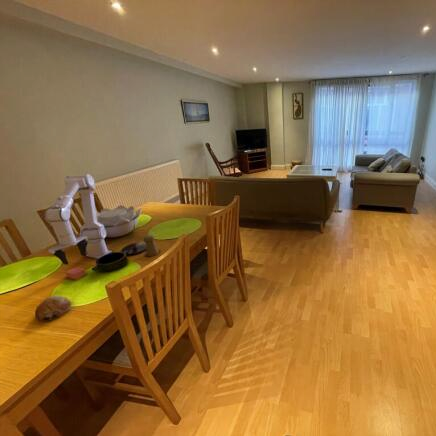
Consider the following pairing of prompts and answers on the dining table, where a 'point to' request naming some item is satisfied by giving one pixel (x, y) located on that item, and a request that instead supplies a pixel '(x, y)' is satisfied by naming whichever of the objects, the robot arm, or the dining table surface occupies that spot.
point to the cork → (150, 245)
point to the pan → (111, 262)
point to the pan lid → (134, 248)
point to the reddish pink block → (76, 273)
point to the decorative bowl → (118, 220)
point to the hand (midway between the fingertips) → (75, 259)
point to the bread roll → (52, 308)
